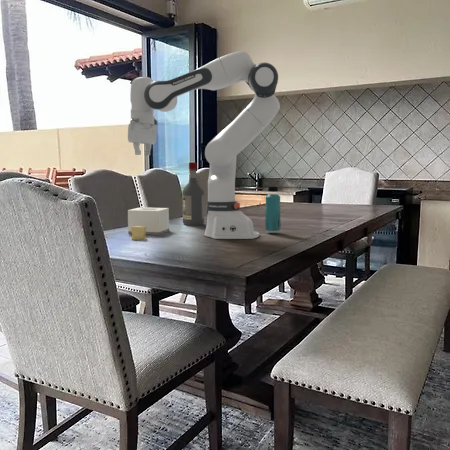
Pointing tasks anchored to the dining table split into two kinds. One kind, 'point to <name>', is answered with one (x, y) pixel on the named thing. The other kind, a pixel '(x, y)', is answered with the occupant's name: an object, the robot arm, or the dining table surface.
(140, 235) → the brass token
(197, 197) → the liquor
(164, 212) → the money box
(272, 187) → the beverage bottle
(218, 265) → the dining table surface
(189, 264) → the dining table surface
